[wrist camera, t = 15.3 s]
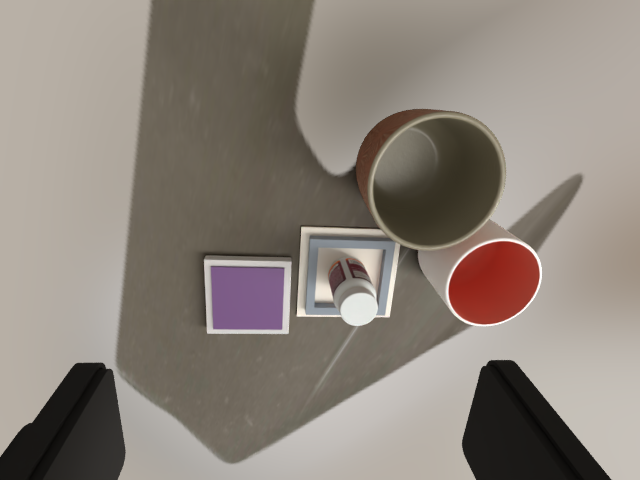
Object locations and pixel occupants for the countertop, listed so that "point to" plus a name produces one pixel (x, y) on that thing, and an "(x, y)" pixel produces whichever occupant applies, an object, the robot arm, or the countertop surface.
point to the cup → (484, 275)
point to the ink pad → (247, 294)
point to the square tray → (336, 243)
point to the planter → (430, 177)
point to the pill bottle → (352, 291)
